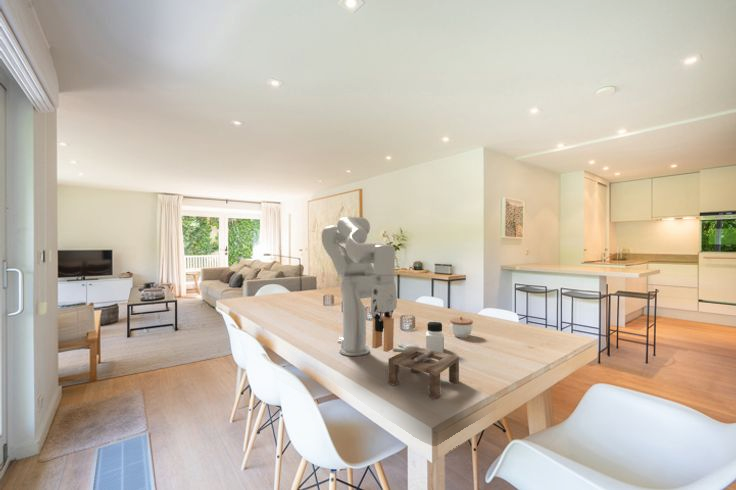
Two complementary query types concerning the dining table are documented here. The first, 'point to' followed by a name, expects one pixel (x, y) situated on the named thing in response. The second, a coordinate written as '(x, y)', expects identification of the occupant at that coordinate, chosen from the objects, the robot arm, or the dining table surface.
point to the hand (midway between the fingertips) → (383, 329)
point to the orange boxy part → (388, 334)
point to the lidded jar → (461, 327)
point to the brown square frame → (425, 367)
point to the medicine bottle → (435, 337)
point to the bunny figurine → (409, 348)
